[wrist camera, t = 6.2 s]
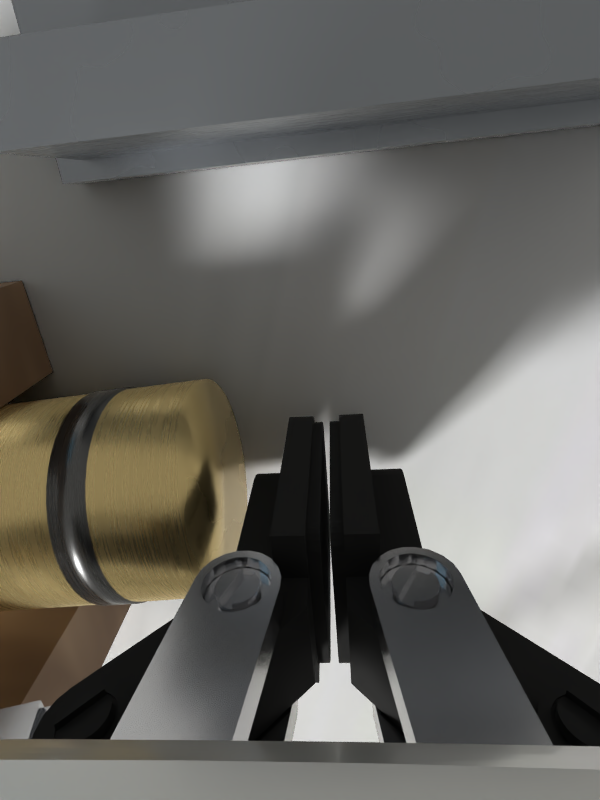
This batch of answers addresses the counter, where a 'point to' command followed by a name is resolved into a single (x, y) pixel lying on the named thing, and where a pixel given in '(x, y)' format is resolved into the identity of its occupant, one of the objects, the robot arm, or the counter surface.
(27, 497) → the axle
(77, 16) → the cradle
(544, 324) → the counter surface
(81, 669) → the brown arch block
